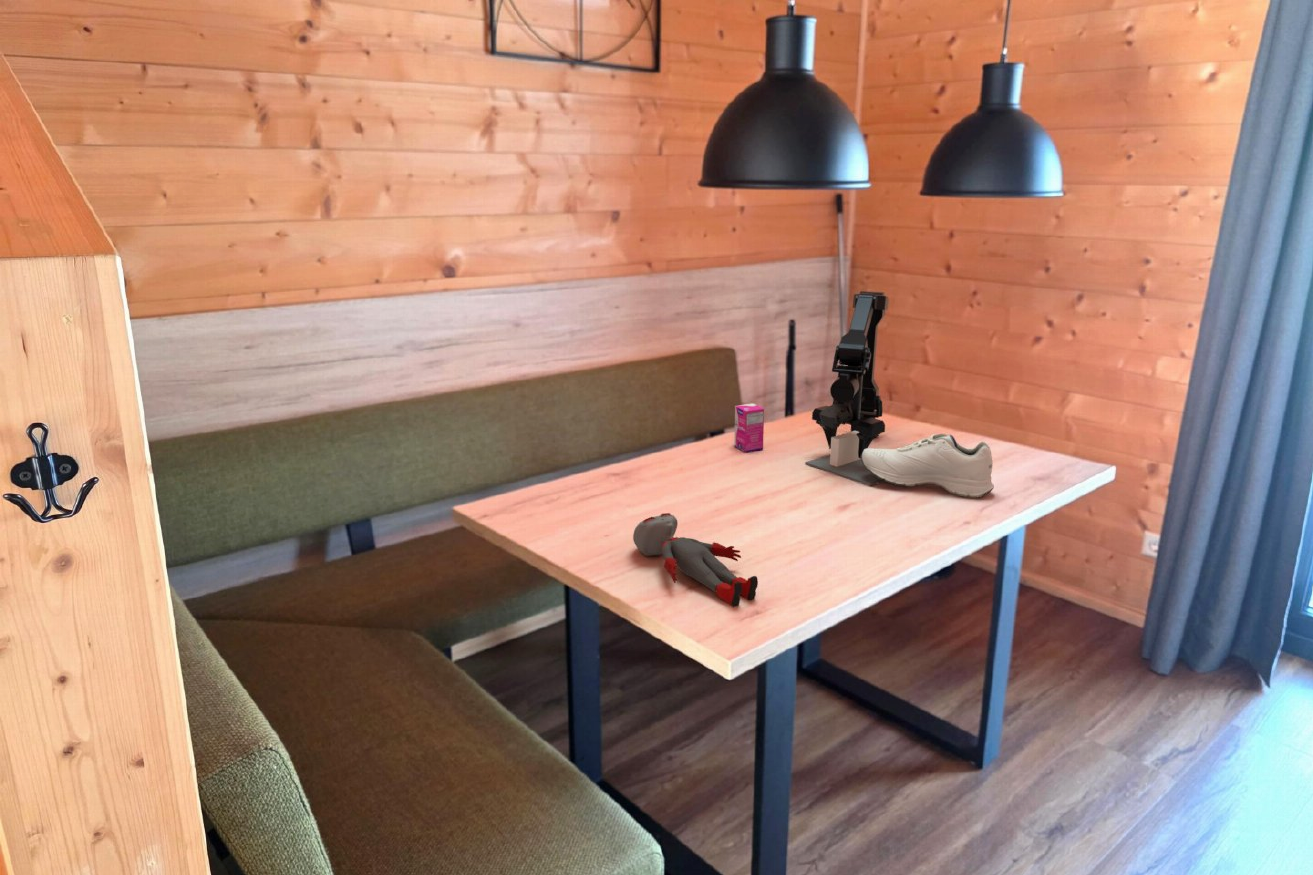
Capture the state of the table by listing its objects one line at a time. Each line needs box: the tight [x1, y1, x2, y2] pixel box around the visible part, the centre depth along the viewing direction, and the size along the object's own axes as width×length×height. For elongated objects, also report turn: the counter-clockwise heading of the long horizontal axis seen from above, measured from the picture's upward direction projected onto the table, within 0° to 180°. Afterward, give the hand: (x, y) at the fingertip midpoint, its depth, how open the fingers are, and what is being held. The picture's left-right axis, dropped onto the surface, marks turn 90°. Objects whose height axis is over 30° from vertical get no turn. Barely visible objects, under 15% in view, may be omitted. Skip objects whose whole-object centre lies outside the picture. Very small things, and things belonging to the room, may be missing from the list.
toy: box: [632, 512, 759, 608], centre depth 169 cm, size 16×10×30 cm
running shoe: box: [861, 433, 995, 499], centre depth 212 cm, size 11×30×13 cm, turn 72°
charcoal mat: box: [804, 454, 885, 487], centre depth 226 cm, size 17×20×1 cm
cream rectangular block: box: [829, 430, 861, 467], centre depth 228 cm, size 9×3×7 cm, turn 129°
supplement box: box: [733, 402, 765, 454], centre depth 239 cm, size 6×6×12 cm
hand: (845, 453), depth 228 cm, fingers open, 9 cm apart
